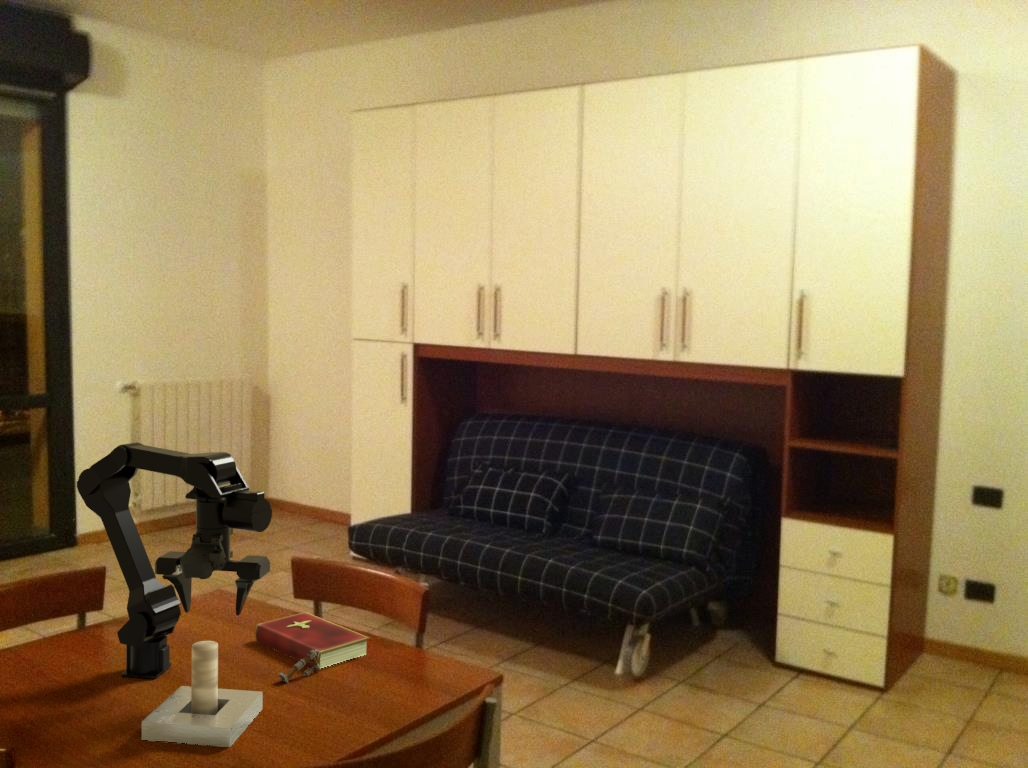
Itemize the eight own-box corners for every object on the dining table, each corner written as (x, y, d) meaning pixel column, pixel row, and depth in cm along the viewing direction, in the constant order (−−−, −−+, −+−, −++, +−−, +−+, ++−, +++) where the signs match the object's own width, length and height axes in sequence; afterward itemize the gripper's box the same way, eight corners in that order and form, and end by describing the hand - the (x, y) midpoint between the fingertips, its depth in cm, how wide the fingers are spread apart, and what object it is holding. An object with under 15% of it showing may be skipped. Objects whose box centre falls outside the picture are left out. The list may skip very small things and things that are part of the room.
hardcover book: (318, 673, 176) (318, 651, 176) (254, 643, 191) (255, 623, 190) (369, 657, 185) (369, 636, 185) (305, 630, 199) (305, 610, 199)
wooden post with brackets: (326, 667, 176) (318, 648, 174) (292, 695, 171) (283, 675, 169) (320, 664, 177) (312, 645, 176) (286, 692, 172) (277, 672, 171)
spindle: (185, 725, 152) (186, 646, 151) (205, 716, 155) (206, 639, 154) (203, 731, 150) (203, 651, 149) (222, 722, 153) (223, 644, 152)
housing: (141, 740, 146) (141, 721, 146) (181, 703, 160) (181, 685, 160) (229, 747, 145) (230, 728, 145) (262, 709, 159) (262, 691, 159)
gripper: (139, 533, 159) (139, 625, 160) (248, 539, 157) (247, 632, 158) (169, 519, 170) (169, 605, 171) (271, 524, 168) (270, 611, 169)
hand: (212, 613), depth 167 cm, fingers open, 9 cm apart
